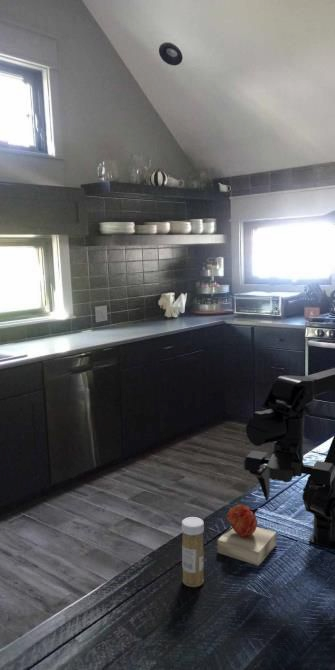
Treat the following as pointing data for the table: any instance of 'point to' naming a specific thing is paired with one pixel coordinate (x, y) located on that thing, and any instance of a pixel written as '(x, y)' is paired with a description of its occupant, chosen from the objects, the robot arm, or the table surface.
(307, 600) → the table surface
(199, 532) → the sprinkles bottle
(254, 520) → the red oval lump
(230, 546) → the pale wooden block
